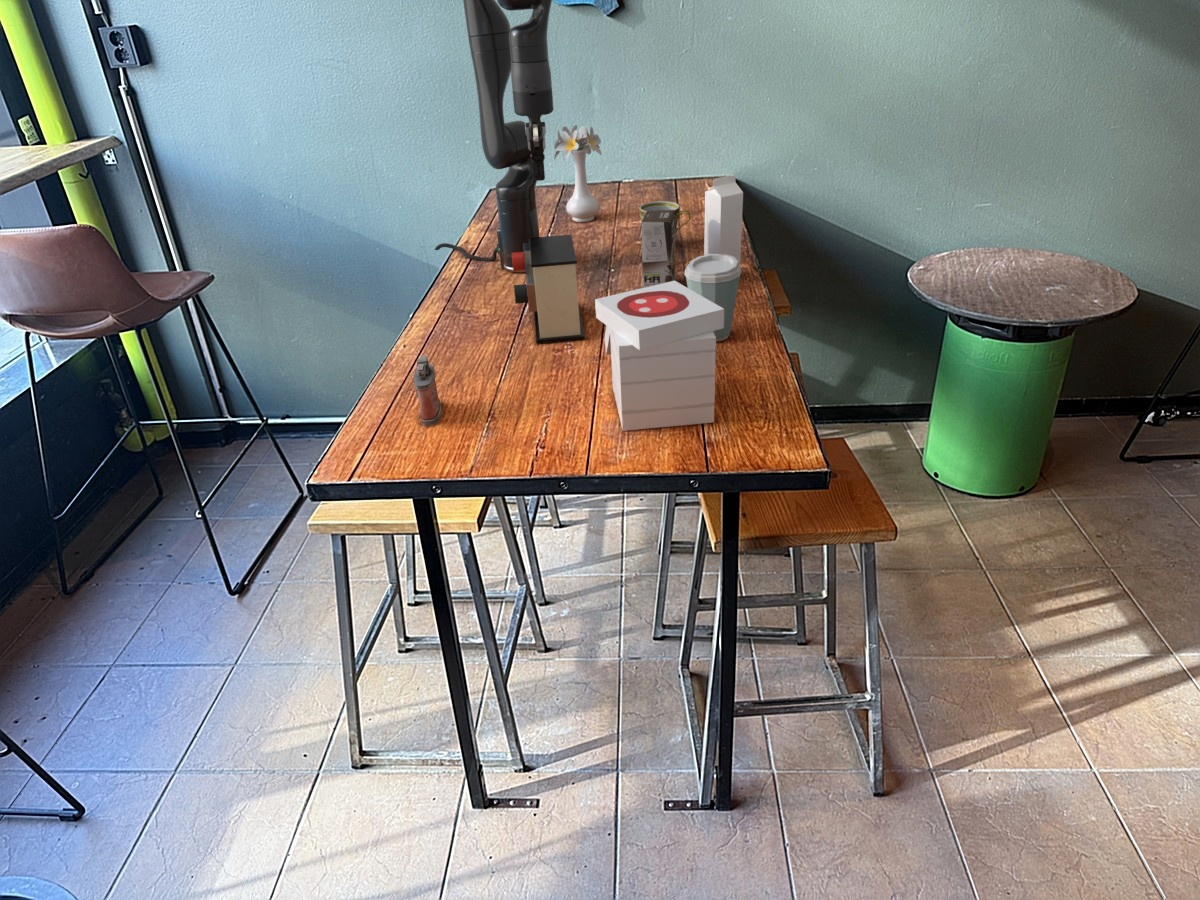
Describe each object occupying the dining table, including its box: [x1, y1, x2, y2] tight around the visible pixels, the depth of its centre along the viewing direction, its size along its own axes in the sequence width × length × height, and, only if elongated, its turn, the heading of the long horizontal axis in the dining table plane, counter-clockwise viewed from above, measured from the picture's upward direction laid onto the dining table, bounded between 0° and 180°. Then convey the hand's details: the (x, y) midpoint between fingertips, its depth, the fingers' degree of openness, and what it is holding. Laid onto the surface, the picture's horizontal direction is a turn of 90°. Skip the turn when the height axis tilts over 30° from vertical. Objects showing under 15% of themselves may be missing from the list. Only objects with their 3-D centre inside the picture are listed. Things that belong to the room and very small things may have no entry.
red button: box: [512, 252, 525, 271], centre depth 167 cm, size 2×4×4 cm, turn 6°
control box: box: [523, 234, 586, 345], centre depth 166 cm, size 10×18×16 cm, turn 6°
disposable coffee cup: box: [683, 254, 743, 343], centre depth 158 cm, size 11×11×15 cm
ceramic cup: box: [639, 200, 692, 235], centre depth 206 cm, size 13×10×10 cm
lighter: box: [412, 354, 442, 426], centre depth 138 cm, size 8×3×10 cm, turn 5°
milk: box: [703, 174, 744, 266], centre depth 184 cm, size 6×6×22 cm
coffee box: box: [641, 210, 676, 288], centre depth 181 cm, size 9×6×16 cm
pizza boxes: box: [594, 280, 724, 432], centre depth 139 cm, size 19×30×18 cm, turn 5°
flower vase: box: [553, 124, 603, 223], centre depth 227 cm, size 13×18×25 cm
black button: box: [513, 283, 528, 305], centre depth 161 cm, size 2×4×4 cm, turn 6°
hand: (539, 179), depth 166 cm, fingers closed
